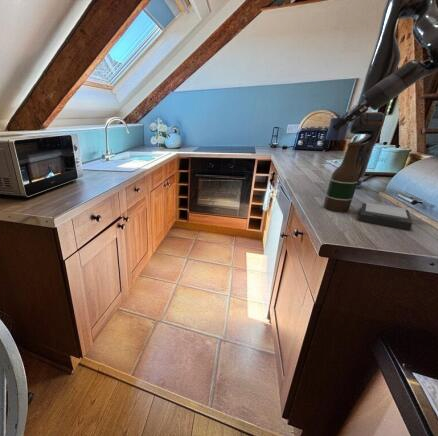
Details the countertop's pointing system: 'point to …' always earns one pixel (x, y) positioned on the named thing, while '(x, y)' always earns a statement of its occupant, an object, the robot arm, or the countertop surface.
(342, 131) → the blue pot
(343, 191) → the beer bottle
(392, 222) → the kitchen scale
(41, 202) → the countertop surface
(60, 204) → the countertop surface
